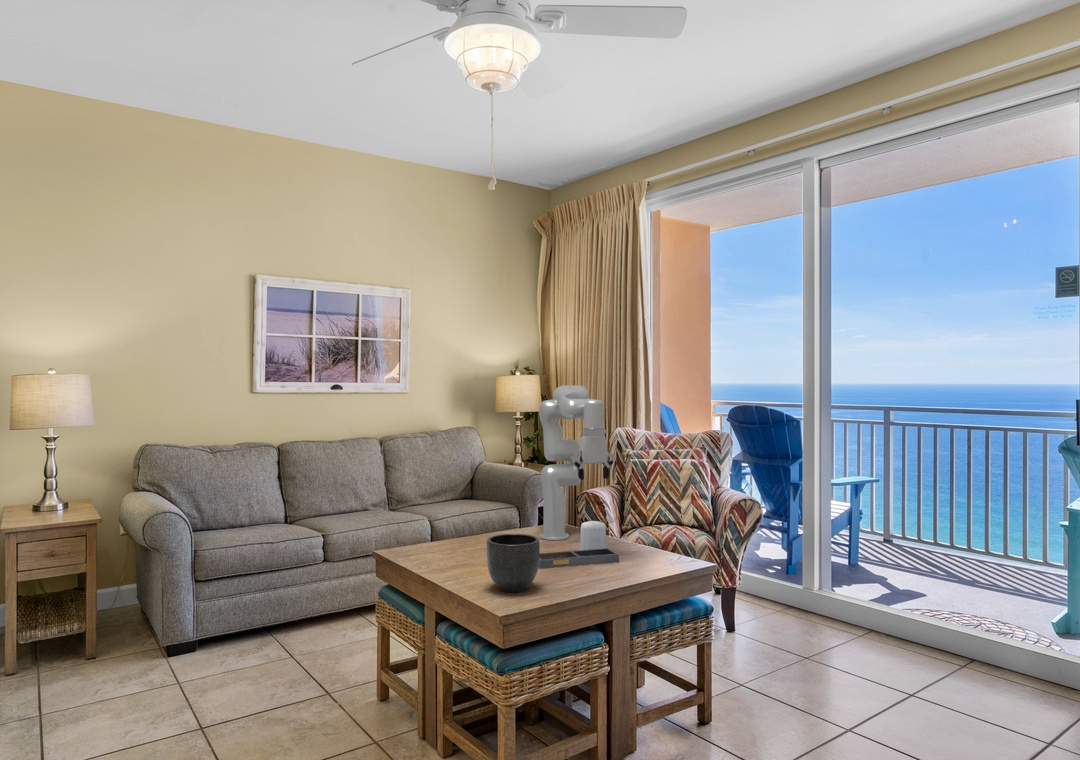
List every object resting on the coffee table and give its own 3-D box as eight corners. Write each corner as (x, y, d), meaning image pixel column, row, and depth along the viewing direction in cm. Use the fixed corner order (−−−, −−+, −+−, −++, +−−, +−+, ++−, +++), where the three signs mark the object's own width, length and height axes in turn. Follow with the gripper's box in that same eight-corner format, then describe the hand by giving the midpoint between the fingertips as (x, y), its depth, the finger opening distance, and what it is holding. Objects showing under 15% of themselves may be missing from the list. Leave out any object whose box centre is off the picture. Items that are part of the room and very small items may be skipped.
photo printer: (604, 550, 270) (604, 519, 270) (607, 553, 266) (607, 521, 266) (579, 551, 268) (579, 520, 269) (581, 554, 264) (581, 522, 264)
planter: (515, 577, 231) (515, 531, 231) (550, 589, 218) (550, 539, 219) (475, 588, 219) (475, 538, 219) (510, 600, 207) (510, 548, 207)
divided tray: (531, 562, 252) (531, 553, 252) (608, 555, 261) (608, 548, 261) (540, 569, 242) (540, 560, 242) (619, 562, 252) (619, 554, 252)
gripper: (610, 431, 258) (610, 476, 258) (568, 432, 252) (568, 478, 252) (618, 433, 251) (618, 479, 250) (575, 434, 245) (575, 481, 245)
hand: (593, 478), depth 251 cm, fingers open, 9 cm apart
